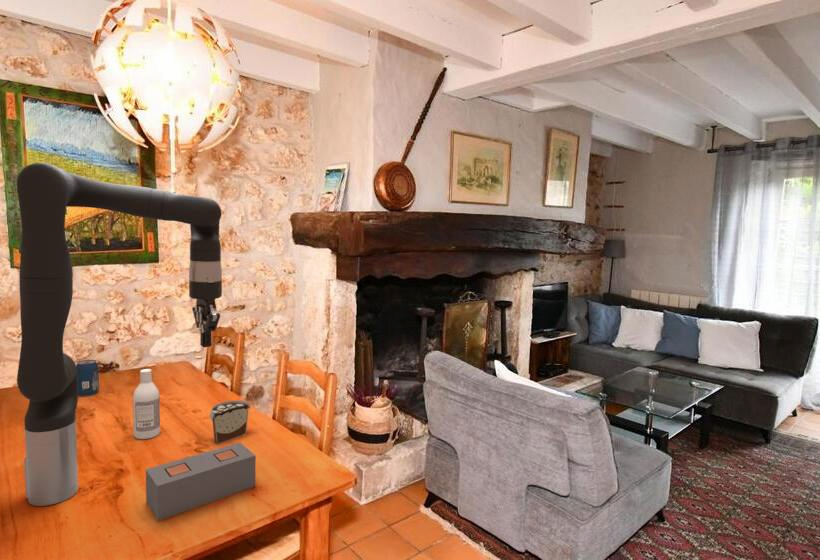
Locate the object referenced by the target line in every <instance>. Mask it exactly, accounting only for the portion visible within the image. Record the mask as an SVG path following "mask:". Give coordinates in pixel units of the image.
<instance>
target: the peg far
mask: <svg viewBox="0 0 820 560" xmlns="http://www.w3.org/2000/svg"><path fill="white" fill-rule="evenodd" d="M215 457H216V458H217V459H218V460H219V461H220V462H221V461H224V460H228V459H231V458H234V457H237V455H236V454H235V453H234V452H232V451H231V450H229V451H225V452H222V453H218V454H215Z"/></svg>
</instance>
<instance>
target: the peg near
mask: <svg viewBox="0 0 820 560" xmlns="http://www.w3.org/2000/svg"><path fill="white" fill-rule="evenodd" d="M188 471H190V470H189V469H188V467H187V466H186V465H185V464H181V465H178V466H174V467H171V468H167V469H166V472H167V473H168V475H169V476H170V477H172V476H175V475H178V474H182V473H185V472H188Z"/></svg>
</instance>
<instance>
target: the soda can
mask: <svg viewBox="0 0 820 560" xmlns="http://www.w3.org/2000/svg"><path fill="white" fill-rule="evenodd" d="M76 367H77V375H78V397H91V396H95V395H96V394H97V393H98V392H99V390H100V382H99V381H100V377H99V374H100V373H99V364H98V362H97V360H96V359H83V360H79V361H77V362H76Z"/></svg>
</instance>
